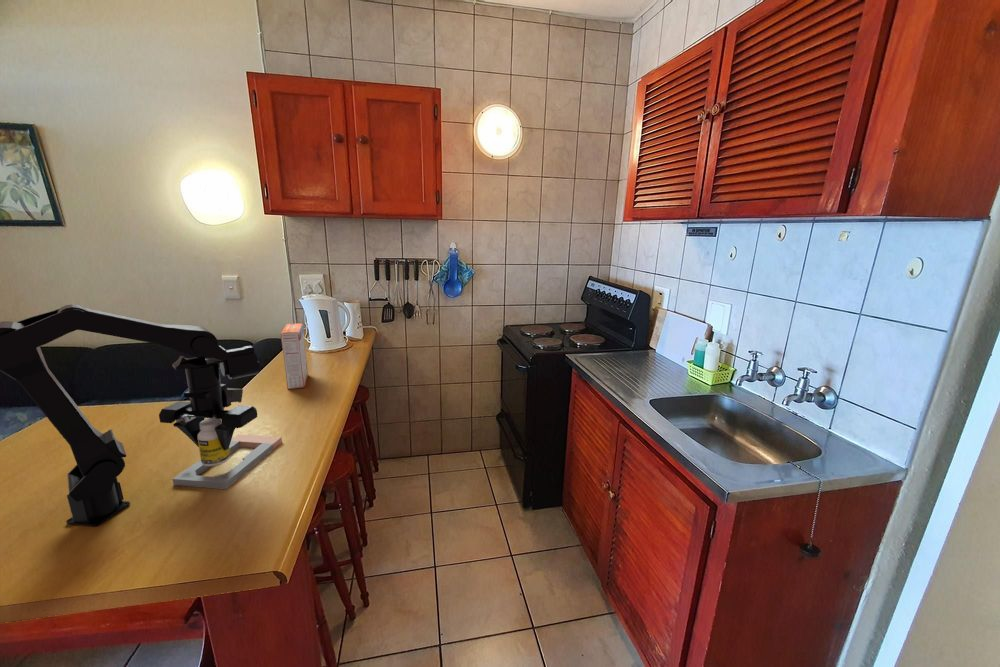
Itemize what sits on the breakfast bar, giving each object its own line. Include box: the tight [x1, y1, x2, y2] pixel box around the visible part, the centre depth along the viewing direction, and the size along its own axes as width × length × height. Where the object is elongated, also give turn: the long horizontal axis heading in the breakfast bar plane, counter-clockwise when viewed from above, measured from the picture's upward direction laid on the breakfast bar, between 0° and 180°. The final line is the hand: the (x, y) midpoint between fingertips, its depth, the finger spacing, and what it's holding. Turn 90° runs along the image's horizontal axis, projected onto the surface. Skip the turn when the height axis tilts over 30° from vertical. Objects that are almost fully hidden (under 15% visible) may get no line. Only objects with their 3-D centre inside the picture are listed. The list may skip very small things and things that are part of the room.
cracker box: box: [280, 322, 309, 390], centre depth 143 cm, size 14×6×21 cm, turn 20°
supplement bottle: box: [197, 418, 231, 467], centre depth 89 cm, size 5×5×10 cm
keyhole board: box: [172, 433, 283, 490], centre depth 95 cm, size 20×12×2 cm, turn 176°
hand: (214, 448), depth 89 cm, fingers closed on supplement bottle, 5 cm apart
